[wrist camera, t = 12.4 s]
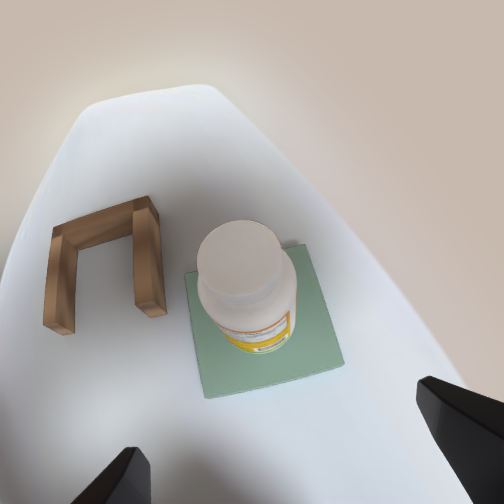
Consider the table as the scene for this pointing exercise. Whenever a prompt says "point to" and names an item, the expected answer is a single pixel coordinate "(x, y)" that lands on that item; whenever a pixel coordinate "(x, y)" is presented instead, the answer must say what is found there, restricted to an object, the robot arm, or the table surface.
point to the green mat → (275, 362)
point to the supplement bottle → (248, 285)
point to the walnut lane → (96, 232)
